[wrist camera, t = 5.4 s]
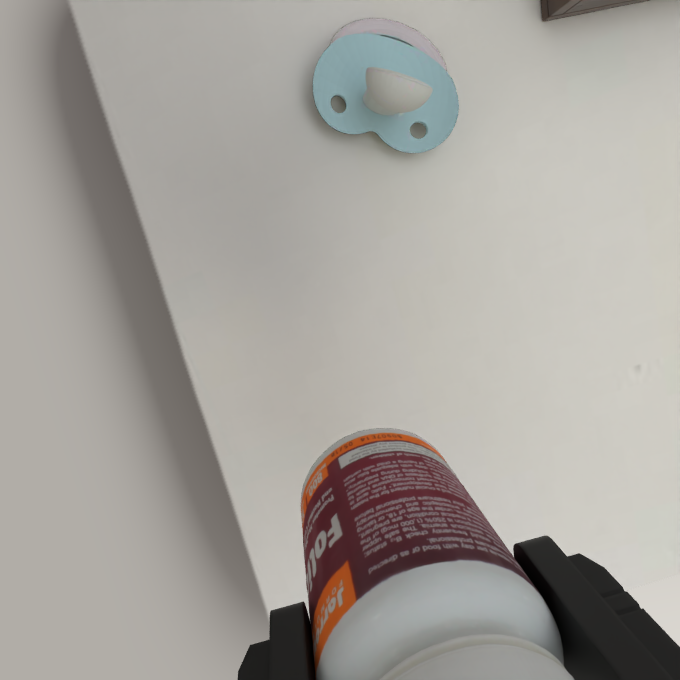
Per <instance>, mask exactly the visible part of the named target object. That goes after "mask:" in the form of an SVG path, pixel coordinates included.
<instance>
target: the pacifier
mask: <svg viewBox="0 0 680 680" xmlns="http://www.w3.org/2000/svg"><path fill="white" fill-rule="evenodd" d="M334 96H340V97H341V98H343V100H344V101H345V103H346V109H345V111H344V112H343V113H336V112H335V111H334V110H333V109H332V107H331V99H332V98H333V97H334ZM313 97H314V101H315V105H316V107H317V110H318V112H319V114H320V116H321V117H322V118H323V119H324V121H325V122H326V123H327V124H328V125H329V126H331V127H332V128H334V129H335V130H337V131H340V132H343V133H346V134H361V133H365V132H368V131H372V132H375V133H377V134H378V136H379V137H380V138H381V139H382V140H383V141H384V142H385V143H386V144H388V145H389V146H390V147H392V148H394V149H396V150H399V151H402V152H405V153H421V152H425V151H428V150H431V149H433V148H435V147H436V146H438V145H439V144H441V143H442V142H443V141H444V140H445V139H446V138H447V137H448V136H449V134H450V133H451V132H452V130H453V128H454V126H455V123H456V120H457V116H458V109H459V104H458V95H457V92H456V88H455V85H454V83H453V80H452V78H451V77H450V76H449V74H448V73H447V68H446V64H445V62H444V60H443V58H442V56H441V54H440V52H439V51H438V50H437V48H436V47H435V46H434V45H433V44H432V43H431V42H430V40H429V39H427V38H426V37H425V36H423V35H422V34H421V33H419V32H418V31H417V30H415V29H413V28H411V27H408V26H406V25H404V24H402V23H399V22H395V21H391V20H387V19H373V18H369V19H364V20H358V21H354V22H352V23H350V24H348V25H346V26H344V27H342V28H341V29H340V30H339V31H338V32H337V33H336V34H335V35H334V37H333V39H332V41H331V43H330V46H329V47H328V48H327V49H326V50H325V51H324V53H323V54H322V56H321V57H320V59H319V61H318V63H317V66H316V69H315V73H314V77H313ZM414 123H421V124H423V125H424V126H425V128H426V134H425V136H424V137H423V138H420V139H417V138H414V137H413V136H412V135H411V134H410V127H411V125H412V124H414Z"/></svg>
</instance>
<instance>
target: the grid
mask: <svg viewBox="0 0 680 680" xmlns="http://www.w3.org/2000/svg"><path fill="white" fill-rule="evenodd" d="M643 1H648V0H541V6H542V18H543V21H548V20H553V19H558V18H563V17H568V16H573V15H578V14H583V13H588V12H593V11H598V10H603V9H608V8H613V7H618V6H623V5H628V4H633V3H638V2H643Z"/></svg>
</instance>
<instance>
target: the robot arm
mask: <svg viewBox="0 0 680 680" xmlns="http://www.w3.org/2000/svg"><path fill="white" fill-rule="evenodd" d="M513 550H514V559H515V560H516V561H517V563H518V564H519V565H520V566H521V568H522V569H523V571H524V572H525V574H526V575H527V577H528V578H529V579H530V581H531V582H532V583H533V585H534V586H535V587H536V589H537V590H538V591H539V592H540V594H541V596H542V597H543V599H544V601H545V602H546V604H547V606H548V608H549V609H550V611H551V613H552V615H553V617H554V619H555V622H556V624H557V627H558V630H559V633H560V636H561V641H562V646H563V655H564V667H565V669H566V670H567V672H568V673H569V674H570V675H571V676H572V677H573V678H574V679H575V680H680V647H679V646H678V645H677V644H676V643H675V642H674V641H673V640H672V639H671V638H670V637H669V636H668V634H667V633H666V632H665V631H664V630H663V629H662V628H661V627H660V626H659V625H658V624H657V623H656V622H655V621H654V620H653V619H652V618H651V617H650V615H649V614H648V613H646V611H645V610H644V609H641V608H640V607H639V604H638V603H637V602H636V601H635V600H634V599H633V598H632V596H631V595H629V593H628V592H625V591H624V589H623V587H622V586H621V585H620V584H619V583H618V582H617V581H616V580H615V579H614V578H613V576H612V575H611V574H610V573H609V572H608V571H607V570H606V569H605V568H604V567H602V566H600V565H599V564H597V563H595V562H594V561H592V560H590V559H588V558H587V557H585V556H583V555H581V554H580V553H579V554H575V555H572V556H568V557H567V556H566V555H565V554H564V553H563V551H562V550H561V549H560V548H559V547H558V546H557V545H556V543H555V542H554V541H553V540H552V539H551V538H550V537H548V536H542V537H538V538H535V539H531V540H527V541H524V542H520V543H516V544H515V545H514V548H513ZM238 680H315V668H314V658H313V641H312V633H311V623H310V620H309V616H308V613H307V609H306V606H305V603H304V602H300V603H297V604H293V605H290V606H286V607H282V608H279V609H275V610H272V611H271V612H270V640H267V641H264V642H260V643H256V644H253V645H250V647H249V649H248V651H247V653H246V655H245V658H244V660H243V662H242V664H241V666H240V669H239V671H238Z"/></svg>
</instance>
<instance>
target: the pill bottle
mask: <svg viewBox="0 0 680 680" xmlns="http://www.w3.org/2000/svg"><path fill="white" fill-rule="evenodd" d="M301 515H302V528H303V545H304V558H305V567H306V584H307V592H308V600H309V614H310V623H311V633H312V641H313V658H314V668H315V680H575V679H574V678H573V677H572V676H571V675H570V674H569V673H568V672H567V670H566V669H565V667H564V655H563V646H562V641H561V636H560V633H559V630H558V627H557V624H556V622H555V619H554V617H553V615H552V613H551V611H550V609H549V608H548V606H547V604H546V602H545V601H544V599H543V597H542V596H541V594H540V592H539V591H538V590H537V589H536V587H535V586H534V585H533V583H532V582H531V581H530V579H529V578H528V577H527V575H526V574H525V572H524V571H523V569H522V568H521V566H520V565H519V564H518V563H517V561H516V560H515V559H514V557H513V556H512V554H511V553H510V551H509V550H508V549H507V547H506V546H505V544H504V543H503V542H502V540H501V539H500V537H499V536H498V535H497V533H496V532H495V530H494V529H493V528H492V526H491V525H490V523H489V522H488V521H487V519H486V518H485V516H484V515H483V514H482V512H481V511H480V509H479V508H478V506H477V505H476V503H475V502H474V501H473V499H472V498H471V497H470V495H469V494H468V492H467V491H466V489H465V488H464V486H463V485H462V484H461V483H460V481H459V479H458V478H457V476H456V474H455V473H454V472H453V470H452V469H451V468H450V467H449V465H448V464H447V462H446V461H445V460H444V458H443V457H442V455H441V454H440V453H439V452H438V451H437V450H436V449H435V448H434V447H433V446H432V445H431V444H430V443H428V442H427V441H425V440H424V439H422V438H421V437H419V436H417V435H415V434H413V433H410V432H406V431H403V430H399V429H385V428H376V429H369V430H363V431H358V432H356V433H353V434H351V435H348V436H346V437H344V438H342V439H340V440H339V441H337V442H336V443H334V444H333V445H332V446H330V447H329V448H328V449H327V450H326V451H325V452H324V453H323V454H322V455H321V456H320V457H319V458H318V459H317V460H316V462H315V463H314V464H313V466H312V467H311V469H310V471H309V473H308V475H307V477H306V480H305V482H304V485H303V489H302V495H301Z"/></svg>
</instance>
